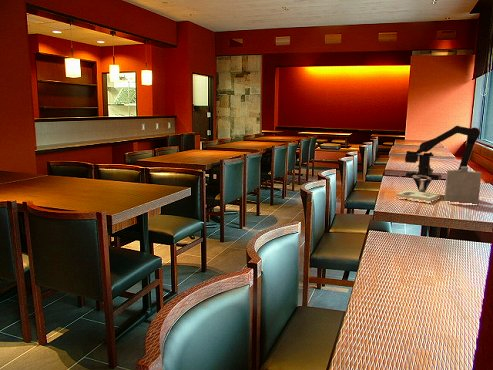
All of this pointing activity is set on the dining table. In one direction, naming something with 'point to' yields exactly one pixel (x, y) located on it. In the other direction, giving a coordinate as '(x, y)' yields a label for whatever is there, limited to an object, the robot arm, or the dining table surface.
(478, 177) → the grey upright panel
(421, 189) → the plug
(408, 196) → the socket block
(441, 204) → the dining table surface
